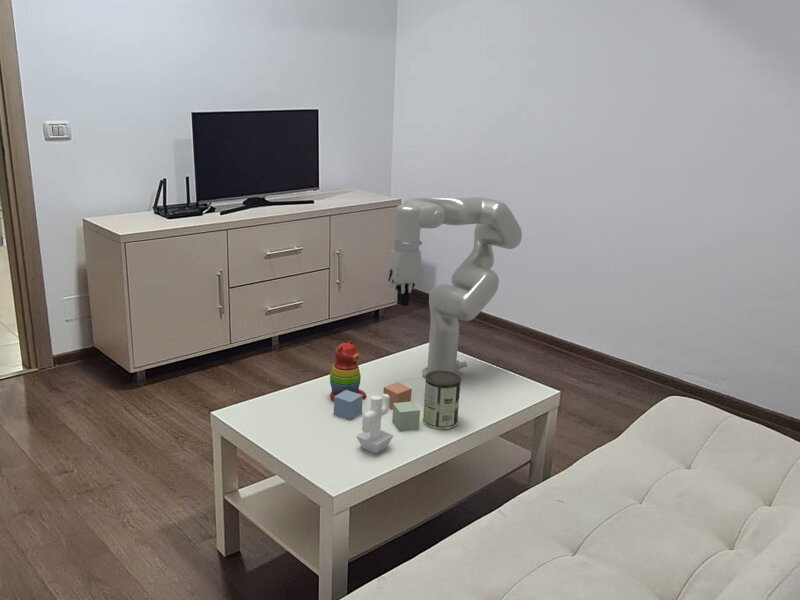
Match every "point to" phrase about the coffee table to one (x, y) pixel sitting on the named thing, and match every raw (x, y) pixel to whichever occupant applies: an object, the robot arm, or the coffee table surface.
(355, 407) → the slate block
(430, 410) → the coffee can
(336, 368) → the stacking bear
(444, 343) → the robot arm
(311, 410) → the coffee table surface
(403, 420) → the sage block
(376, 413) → the figurine
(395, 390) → the terracotta block
